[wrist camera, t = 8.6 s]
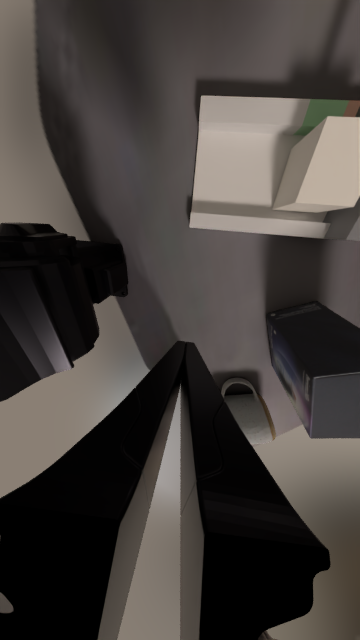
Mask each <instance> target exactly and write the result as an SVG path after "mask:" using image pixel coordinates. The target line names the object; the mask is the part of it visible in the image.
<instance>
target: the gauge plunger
mask: <svg viewBox="0 0 360 640" xmlns="http://www.w3.org/2000/svg"><path fill="white" fill-rule="evenodd" d="M359 196H360V107H359V109H358V111H357V114H356V116H355V117H335V116H327V117H326V118H325V119H324V120H323V121H322V122H321V123H320V124H319V125H317V126H316V127H315V128H314V129H313V130H312V131H311V132H310V133H309V134H307V135H306V136H305V137H304V138H303V139H302V140H301V141H300V142H299V143H297V144H296V145H295V146H294V147H293V148H292V149H291V152H290V155H289V158H288V161H287V165H286V168H285V171H284V174H283V177H282V180H281V183H280V187H279V190H278V193H277V196H276V199H275V202H274V205H273V209H272V210H285V211H298V212H312V213H318V212H324V211H331V210H337V209H343V208H349V207H354V206H355V204H356V202H357V200H358V198H359Z"/></svg>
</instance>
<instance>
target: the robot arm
mask: <svg viewBox="0 0 360 640" xmlns="http://www.w3.org/2000/svg"><path fill="white" fill-rule="evenodd" d="M117 247H118V248H119V251H118V250H117ZM127 284H128V277H127V267H126V264H125V262H124V254H123V248H122V246H121V245H120V244H112V243H101V242H91V241H79V240H76V238H75V237H74V236H67V234H64V233H59V232H57V231H56V230H55V229H54V228H53V227H52V226H51V225H50V224H38V223H1V224H0V402H1V401H4V400H6V399H8V398H10V397H12V396H13V395H15V394H17V393H19V392H20V391H22V390H24V389H25V388H27V387H29V386H30V385H32V384H34V383H36V382H38V381H39V380H41V379H43V378H46V377H48V376H50V375H53V374H55V373H58V372H61V371H65V370H69V369H72V368H73V367H74V364H73V361H75V360H76V359H78V358H80V357H82V356H83V355H85V354H86V353H88V352H89V351H90V350H91V349H92V348H94V343H95V341H96V340H97V338H98V337H99V326H98V322H97V318H96V315H95V311H94V307H93V304H94V303H97V304H99V303H101V302H102V301H103V300H105V299H106V298H107V297H109V296H110V295H111V296H120V297H125V296H127V295H128V289H127ZM123 292H124V293H125V294H123ZM185 345H186V346H185ZM184 353H185V354H184ZM183 361H184V362H183ZM182 369H183V370H182ZM181 377H182V378H181ZM180 385H181V578H180V579H181V580H180V583H181V584H180V585H181V587H180V589H181V590H180V591H181V592H180V598H181V599H180V606H181V608H180V611H181V612H180V617H181V618H180V622H181V624H180V626H181V627H180V630H181V631H180V640H277V639H273V638H271V637H270V636H269V634H268V633H267V631H266V630H268V629H269V628H272V627H275V626H277V625H280V624H283V623H286V622H288V621H291V620H294V619H296V618H299V617H302V616H304V615H306V614H307V613H308V612H309V611H310V610H311V608H312V605H313V578H314V577H315V575H316V574H317V573H319V572H320V571H324V570H328V569H329V568H330V556H329V550H328V549H327V548H326V547H325V546H324V545H323V544H322V543H321V542H320V540H319V539H318V538H317V537H316V536H315V535H314V534H313V532H312V531H311V530H310V529H309V528H308V527H307V525H306V524H305V523H304V521H303V520H302V519H301V518H300V516H299V515H298V514H297V512H296V511H295V510H294V508H293V507H292V506H291V504H290V503H289V501H288V500H287V498H286V497H285V495H284V494H283V492H282V491H281V489H280V488H279V486H278V485H277V483H276V482H275V480H274V479H273V477H272V476H271V475H270V473H269V471H268V470H267V468H266V467H265V465H264V464H263V462H262V460H261V459H260V457H259V456H258V455H257V453H256V452H255V450H254V448H253V447H252V445H251V444H250V442H249V441H248V439H247V438H246V436H245V434H244V433H243V431H242V430H241V428H240V427H239V425H238V423H237V421H236V420H235V418H234V416H233V414H232V413H231V411H230V409H229V407H228V405H227V403H226V402H224V401H225V400H224V398H223V396H222V394H221V392H220V390H219V388H218V387H217V385H216V383H215V381H214V379H213V377H212V375H211V374H210V372H209V370H208V368H207V366H206V364H205V362H204V360H203V359H202V357H201V355H200V353H199V351H198V349H197V347H196V346H195V344H194V343H192V342H184V341H177V342H176V343H175V344H174V345H173V347H172V348H171V349H170V350H169V351H168V352H167V353H166V354H165V355H164V356H163V357H162V359H161V360H160V361H159V362H158V363H157V364H156V365H155V366H154V367H153V368H152V370H151V371H150V372H149V373H148V374H147V375H146V376H145V377H144V378H143V380H141V382H140V383H139V384H138V385H137V386H136V388H134V389H133V390H132V391H131V393H130V394H129V395H128V396H127V397H126V398H125V399H124V400H123V401H122V402H121V403H120V404H119V405H118V406H117V407H116V408H115V409H114V410H113V411H112V412H111V413H110V414H109V415H107V416H106V417H105V418H104V419H103V420H102V421H101V422H100V423H99V424H98V425H96V426H95V427H94V428H93V429H92V430H91V431H90V432H89V433H88V434H86V435H85V436H84V437H83V438H82V439H81V440H80V441H79V442H77V444H75V445H74V446H73V447H72V448H71V449H70V450H69V451H67V452H66V453H65V454H64V455H63V456H62V457H61V458H60V459H58V460H57V461H56V462H55V463H54V464H52V465H51V466H50V467H49V468H47V469H46V470H45V471H43V472H42V473H41V474H39V475H38V476H36V477H35V478H33V479H32V480H30V481H29V482H27V483H26V484H24V485H22V486H21V487H19V488H17V489H15V490H14V491H12V492H10V493H8V494H7V495H5V496H3V497H1V498H0V640H117V638H118V633H119V629H120V625H121V621H122V617H123V613H124V609H125V605H126V601H127V597H128V593H129V589H130V585H131V581H132V577H133V573H134V569H135V565H136V561H137V557H138V553H139V549H140V545H141V541H142V537H143V533H144V529H145V525H146V521H147V517H148V513H149V509H150V505H151V501H152V497H153V493H154V489H155V485H156V481H157V477H158V473H159V469H160V465H161V461H162V457H163V453H164V449H165V445H166V441H167V437H168V433H169V429H170V425H171V421H172V417H173V413H174V409H175V405H176V401H177V397H178V393H179V389H180Z"/></svg>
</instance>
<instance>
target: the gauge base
mask: <svg viewBox="0 0 360 640" xmlns="http://www.w3.org/2000/svg"><path fill="white" fill-rule="evenodd" d="M359 107H360V101H355V100H324V99H294V98H263V97H232V96H201V104H200V115H199V136H198V147H197V157H196V168H195V179H194V190H193V201H192V212H191V215H190V226H189V227H190V228H201V229H213V230H225V231H237V232H249V233H261V234H272V235H284V236H296V237H308V238H320V239H332V240H345V241H360V196H359V198H358V200H357V202H356V204H355V206H354V207H349V208H343V209H337V210H331V211H324V212H318V213H312V212H298V211H285V210H272V209H273V205H274V202H275V199H276V196H277V193H278V190H279V187H280V183H281V180H282V177H283V174H284V171H285V168H286V165H287V161H288V158H289V155H290V152H291V149H292V148H293V147H294V146H295V145H296V144H297V143H299V142H300V141H301V140H302V139H303V138H304V137H305V136H306V135H307V134H309V133H310V132H311V131H312V130H313V129H314V128H315V127H316V126H317V125H319V124H320V123H321V122H322V121H323V120H324V119H325V118H326V117H327V116H335V117H355V116H356V114H357V111H358V109H359Z"/></svg>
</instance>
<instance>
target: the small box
mask: <svg viewBox="0 0 360 640" xmlns="http://www.w3.org/2000/svg"><path fill="white" fill-rule="evenodd" d="M266 319H267V327H268V336H269V344H270V353H271V361H272V366H273V368H274V370H275V372H276V374H277V376H278V378H279V380H280V381H281V383H282V385H283V387H284V389H285V391H286V393H287V395H288V397H289V399H290V401H291V402H292V404H293V406H294V408H295V410H296V412H297V414H298V416H299V418H300V420H301V421H302V423H303V425H304V427H305V429H306V431H307V433H308V435H309V437H310V438H360V328H359V327H357V326H355V325H353V324H352V323H350V322H349V321H347V320H346V319H344V318H342V317H341V316H339V315H338V314H336V313H334V312H333V311H332V310H330V309H328V308H327V307H326V306H324V305H323V304H321V303H320V302H318V301H316V302H312V303H308V304H304V305H300V306H296V307H292V308H288V309H284V310H279V311H275V312H272V313H268V314H266Z"/></svg>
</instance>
